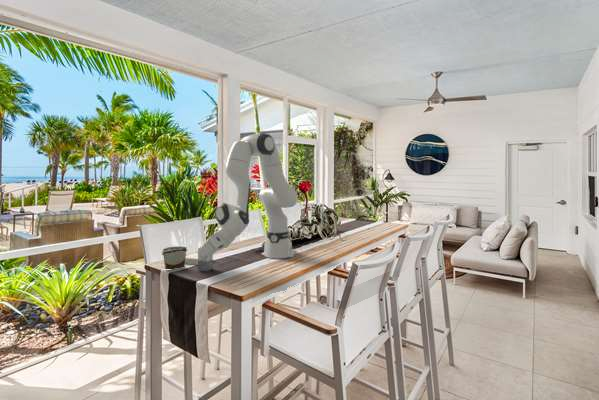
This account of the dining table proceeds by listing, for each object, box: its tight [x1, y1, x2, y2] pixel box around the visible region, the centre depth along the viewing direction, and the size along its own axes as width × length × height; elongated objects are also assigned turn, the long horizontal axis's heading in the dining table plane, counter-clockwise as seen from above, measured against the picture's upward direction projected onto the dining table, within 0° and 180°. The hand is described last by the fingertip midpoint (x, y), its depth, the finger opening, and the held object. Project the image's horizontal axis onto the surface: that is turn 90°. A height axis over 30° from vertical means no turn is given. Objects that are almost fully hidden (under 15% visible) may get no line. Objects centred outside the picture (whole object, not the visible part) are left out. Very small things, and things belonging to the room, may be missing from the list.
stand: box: [185, 252, 198, 266], centre depth 184 cm, size 11×11×3 cm
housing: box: [197, 246, 214, 272], centre depth 169 cm, size 5×5×11 cm
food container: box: [161, 246, 188, 270], centre depth 172 cm, size 12×6×10 cm, turn 135°
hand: (204, 256), depth 169 cm, fingers open, 8 cm apart
